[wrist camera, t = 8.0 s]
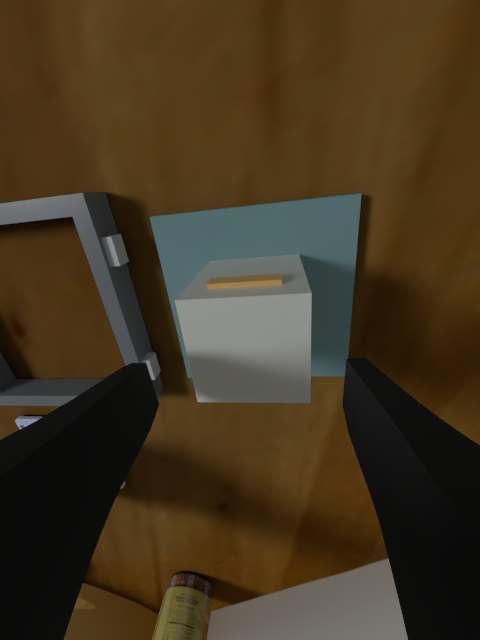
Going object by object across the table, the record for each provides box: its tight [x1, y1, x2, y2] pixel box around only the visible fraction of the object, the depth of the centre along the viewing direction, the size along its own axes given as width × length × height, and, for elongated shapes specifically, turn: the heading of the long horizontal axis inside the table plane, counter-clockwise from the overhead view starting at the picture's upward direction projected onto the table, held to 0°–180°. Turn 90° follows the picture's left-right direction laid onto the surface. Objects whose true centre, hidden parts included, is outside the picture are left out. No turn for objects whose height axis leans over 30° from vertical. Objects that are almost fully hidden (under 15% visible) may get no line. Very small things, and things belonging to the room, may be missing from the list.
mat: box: [150, 193, 362, 378], centre depth 16 cm, size 11×11×1 cm
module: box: [174, 254, 312, 403], centre depth 13 cm, size 5×5×6 cm
